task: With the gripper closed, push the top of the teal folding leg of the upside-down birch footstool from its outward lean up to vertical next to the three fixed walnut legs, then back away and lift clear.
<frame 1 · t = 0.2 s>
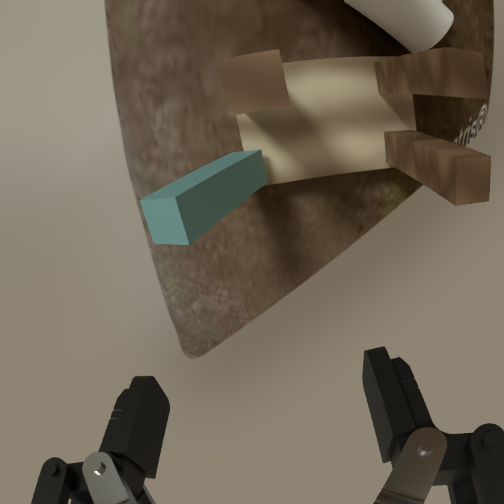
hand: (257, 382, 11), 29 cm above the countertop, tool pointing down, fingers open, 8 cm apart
mug: (392, 2, 25), on the countertop
folding leg: (212, 188, 27), point 10 cm above the countertop, hinge at 25.0°
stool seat: (326, 115, 33), on the countertop
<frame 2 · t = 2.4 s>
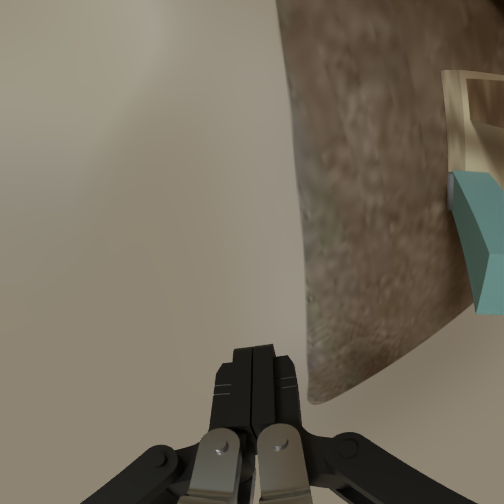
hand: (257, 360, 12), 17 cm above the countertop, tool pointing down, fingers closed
folding leg: (484, 224, 17), point 10 cm above the countertop, hinge at 25.0°
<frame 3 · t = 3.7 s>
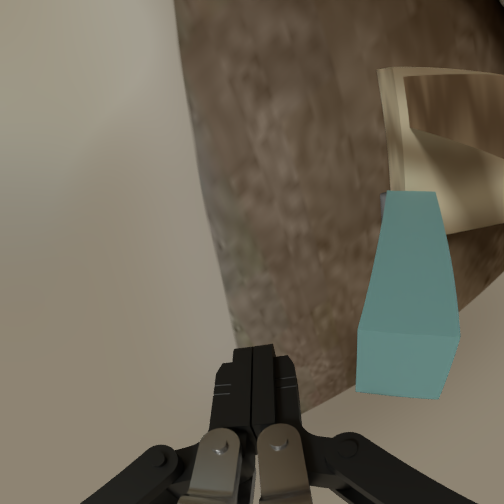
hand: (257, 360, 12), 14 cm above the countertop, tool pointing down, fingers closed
folding leg: (407, 265, 15), point 10 cm above the countertop, hinge at 25.0°
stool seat: (481, 144, 21), on the countertop
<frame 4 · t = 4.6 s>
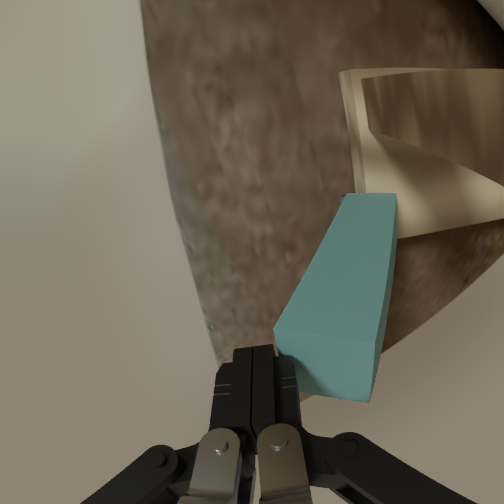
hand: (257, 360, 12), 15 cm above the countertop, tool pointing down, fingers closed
folding leg: (354, 267, 16), point 10 cm above the countertop, hinge at 24.9°, touching gripper
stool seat: (454, 143, 22), on the countertop
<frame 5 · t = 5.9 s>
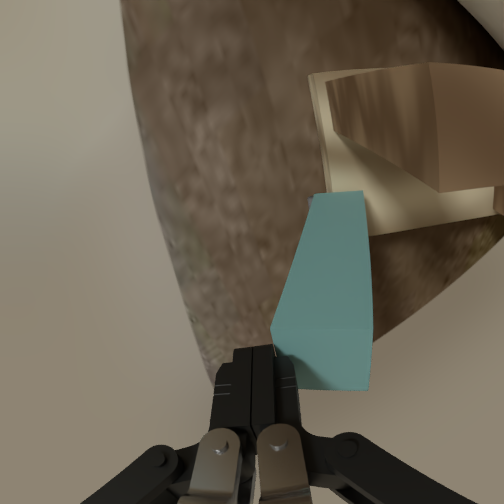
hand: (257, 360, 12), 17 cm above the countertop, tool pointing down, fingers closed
mug: (493, 6, 15), on the countertop
folding leg: (332, 264, 17), point 10 cm above the countertop, hinge at 14.3°, touching gripper
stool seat: (429, 142, 23), on the countertop
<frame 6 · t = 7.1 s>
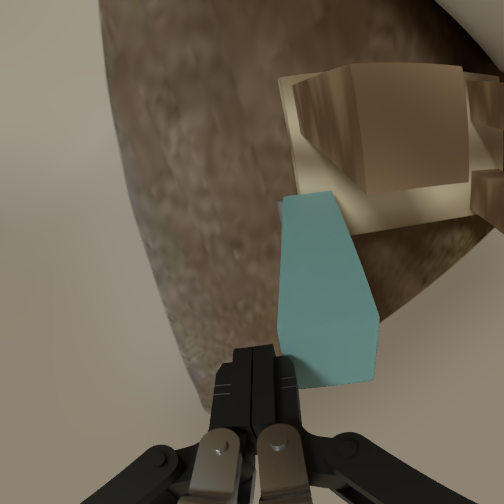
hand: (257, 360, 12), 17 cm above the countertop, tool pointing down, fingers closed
mug: (473, 4, 16), on the countertop
folding leg: (313, 263, 17), point 10 cm above the countertop, hinge at 4.7°
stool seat: (402, 143, 24), on the countertop
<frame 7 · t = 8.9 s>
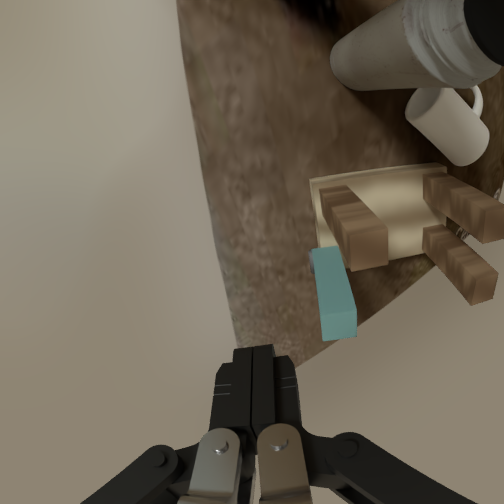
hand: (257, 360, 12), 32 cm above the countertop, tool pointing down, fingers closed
mug: (439, 109, 35), on the countertop
thermos bottle: (358, 63, 34), on the countertop
folding leg: (329, 287, 36), point 10 cm above the countertop, hinge at 4.8°
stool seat: (380, 211, 43), on the countertop
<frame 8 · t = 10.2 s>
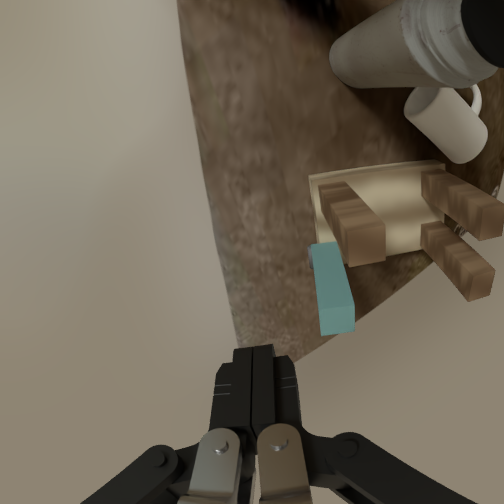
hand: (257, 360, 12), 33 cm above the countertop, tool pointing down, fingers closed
mug: (438, 106, 36), on the countertop
thermos bottle: (357, 60, 34), on the countertop
folding leg: (328, 282, 37), point 10 cm above the countertop, hinge at 4.8°
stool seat: (379, 208, 43), on the countertop
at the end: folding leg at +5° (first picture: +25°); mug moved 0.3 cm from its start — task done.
